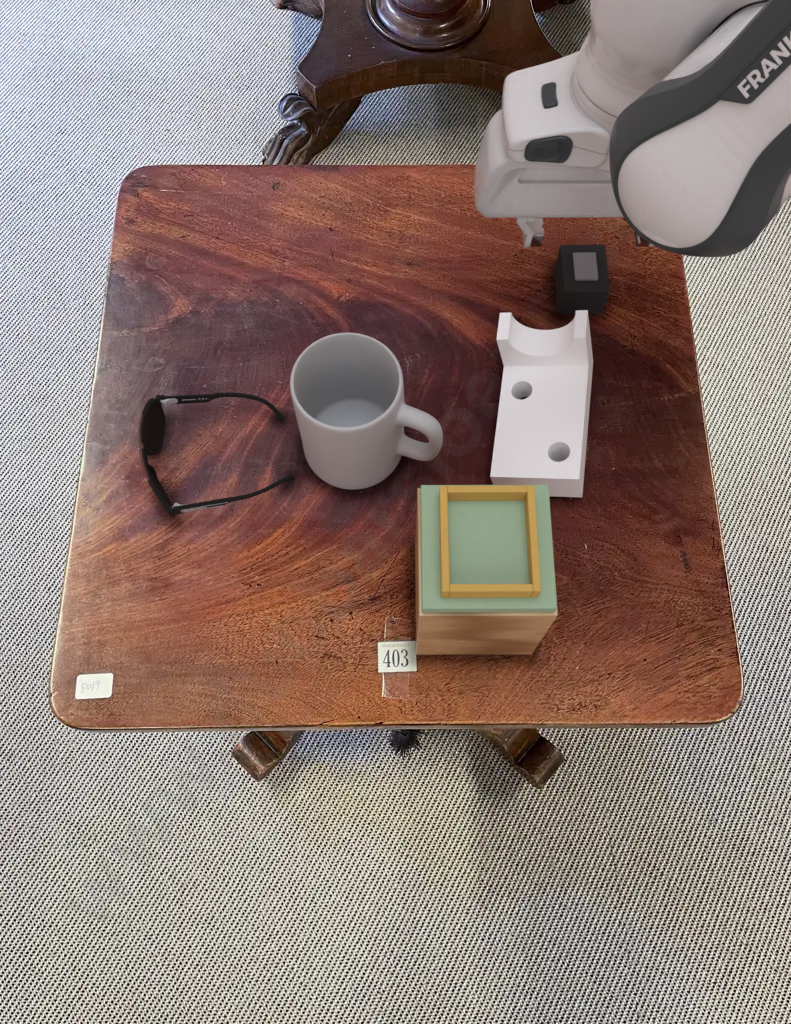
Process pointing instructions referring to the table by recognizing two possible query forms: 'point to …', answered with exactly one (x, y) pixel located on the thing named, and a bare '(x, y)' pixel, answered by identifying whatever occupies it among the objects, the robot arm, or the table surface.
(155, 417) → the sunglasses
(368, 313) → the table surface
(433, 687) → the table surface
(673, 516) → the table surface
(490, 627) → the stand
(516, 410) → the bracket
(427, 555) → the base pad
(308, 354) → the mug
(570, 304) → the black block
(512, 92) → the robot arm
